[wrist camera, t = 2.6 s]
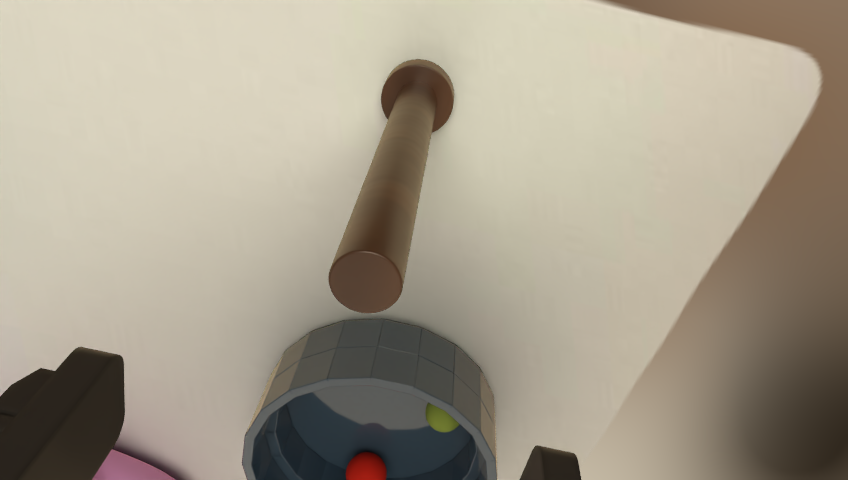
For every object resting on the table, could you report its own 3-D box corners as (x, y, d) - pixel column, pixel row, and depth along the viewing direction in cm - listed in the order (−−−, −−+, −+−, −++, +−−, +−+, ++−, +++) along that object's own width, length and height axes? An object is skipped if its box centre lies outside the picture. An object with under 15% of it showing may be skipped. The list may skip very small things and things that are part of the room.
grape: (467, 390, 41) (466, 416, 39) (458, 416, 42) (457, 443, 40) (431, 382, 41) (428, 408, 39) (423, 408, 42) (420, 436, 40)
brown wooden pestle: (461, 68, 32) (446, 240, 16) (444, 135, 34) (416, 349, 18) (391, 51, 32) (307, 209, 16) (378, 119, 34) (291, 322, 18)
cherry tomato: (392, 447, 44) (387, 480, 42) (385, 475, 46) (380, 508, 43) (353, 439, 44) (345, 471, 42) (346, 467, 45) (339, 499, 43)
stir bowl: (522, 343, 40) (529, 411, 35) (463, 501, 47) (462, 577, 42) (283, 290, 39) (253, 352, 34) (261, 458, 47) (234, 530, 41)
